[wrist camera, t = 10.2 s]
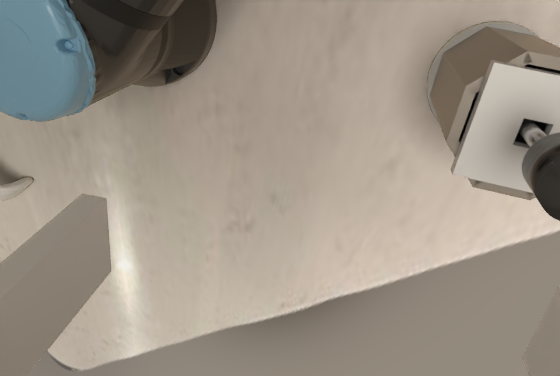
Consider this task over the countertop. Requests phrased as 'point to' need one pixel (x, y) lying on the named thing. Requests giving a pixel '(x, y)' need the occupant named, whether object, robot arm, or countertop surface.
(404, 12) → the countertop surface
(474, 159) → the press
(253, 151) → the countertop surface
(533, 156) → the plunger
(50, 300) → the robot arm
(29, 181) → the spoon rest
